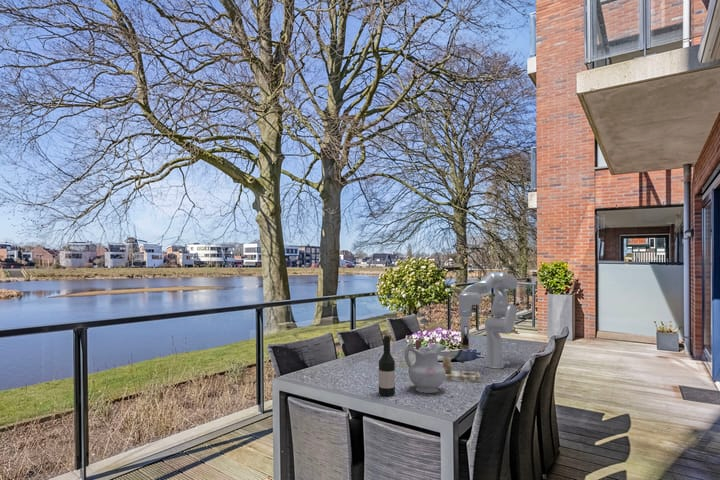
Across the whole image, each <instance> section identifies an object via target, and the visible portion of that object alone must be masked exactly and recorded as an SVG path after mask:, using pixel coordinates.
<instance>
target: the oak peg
mask: <svg viewBox="0 0 720 480" xmlns="http://www.w3.org/2000/svg"><path fill="white" fill-rule="evenodd" d="M464 329H465V328H464ZM464 333H465V332H464ZM460 334H461V336H460V337H461V339H460V340H461V341H460V343H461V345H460V346H461V349H462V350H467V351H468V350H470V332H469V333H468V345H463V332H462V333H461V332H460Z"/></svg>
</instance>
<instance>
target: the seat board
mask: <svg viewBox="0 0 720 480" xmlns="http://www.w3.org/2000/svg"><path fill="white" fill-rule="evenodd" d="M451 361H452V359H451V356H443V357H442V366H443V368H444V369H445V379H444V382H461V383H462V382H463V383H481V382H482V380H481V379H482V378H481V374H480V372H479V371H470V370H468V371H467V370H452V368H451V367H452V366H451V365H452V362H451Z"/></svg>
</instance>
